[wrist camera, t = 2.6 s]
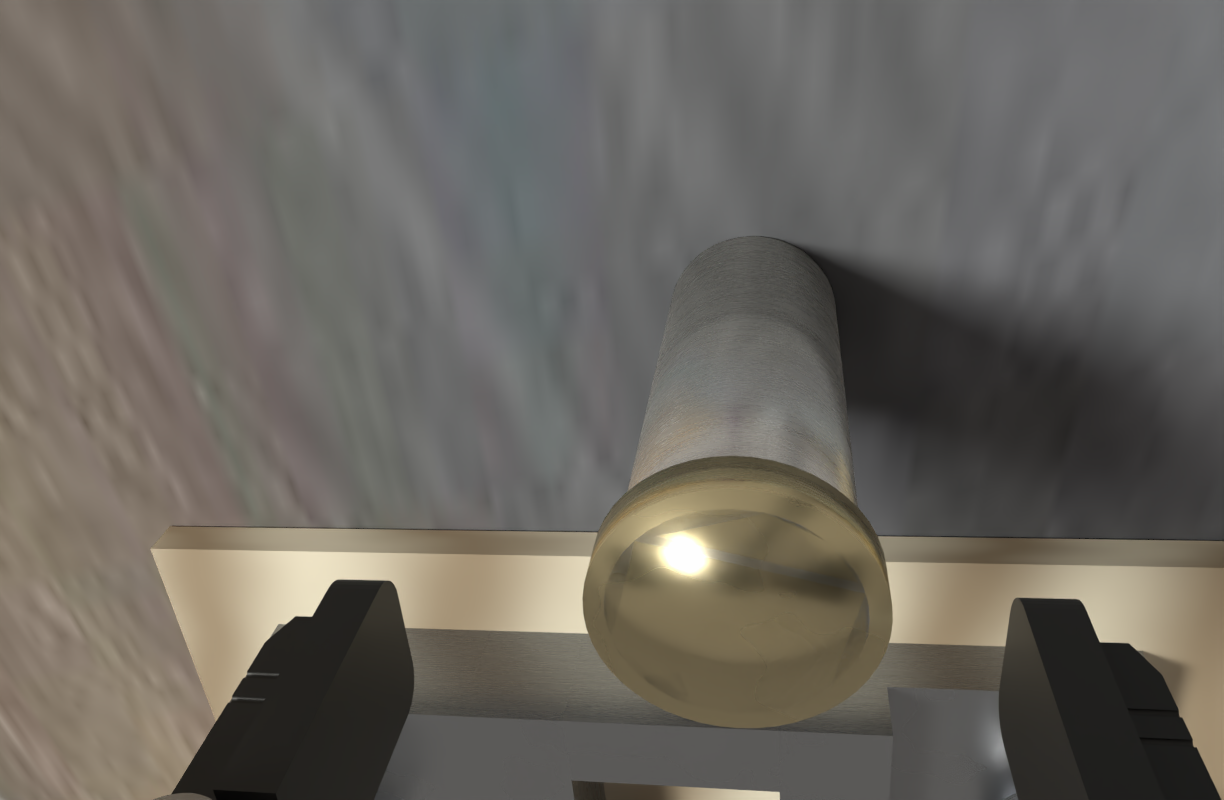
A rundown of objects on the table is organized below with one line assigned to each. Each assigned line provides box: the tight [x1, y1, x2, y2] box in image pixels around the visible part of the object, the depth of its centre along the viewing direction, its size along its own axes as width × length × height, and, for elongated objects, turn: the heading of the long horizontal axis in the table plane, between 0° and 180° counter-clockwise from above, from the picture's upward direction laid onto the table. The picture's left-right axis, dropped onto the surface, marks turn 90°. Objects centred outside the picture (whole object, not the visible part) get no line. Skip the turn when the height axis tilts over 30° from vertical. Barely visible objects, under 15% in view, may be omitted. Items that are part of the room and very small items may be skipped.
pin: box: [582, 236, 893, 728], centre depth 18 cm, size 4×4×10 cm
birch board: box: [151, 526, 1224, 800], centre depth 29 cm, size 28×14×1 cm, turn 95°
